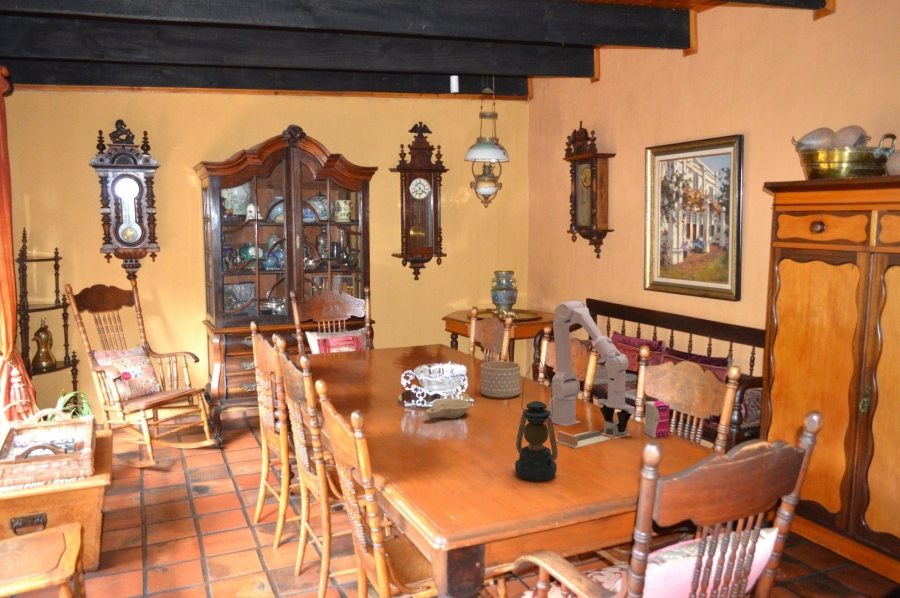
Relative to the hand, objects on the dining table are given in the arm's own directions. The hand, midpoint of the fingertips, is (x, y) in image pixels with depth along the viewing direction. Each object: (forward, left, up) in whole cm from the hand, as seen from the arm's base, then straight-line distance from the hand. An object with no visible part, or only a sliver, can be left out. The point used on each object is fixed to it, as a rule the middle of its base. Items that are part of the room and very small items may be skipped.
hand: (615, 429), depth 248 cm
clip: (0, 0, -1) cm, 1 cm away
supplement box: (+9, +10, -2) cm, 14 cm away
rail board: (-2, -13, -2) cm, 13 cm away
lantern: (+13, -48, -2) cm, 50 cm away
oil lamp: (-52, -33, -2) cm, 62 cm away
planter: (-67, +5, -2) cm, 67 cm away
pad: (0, 0, -2) cm, 2 cm away
